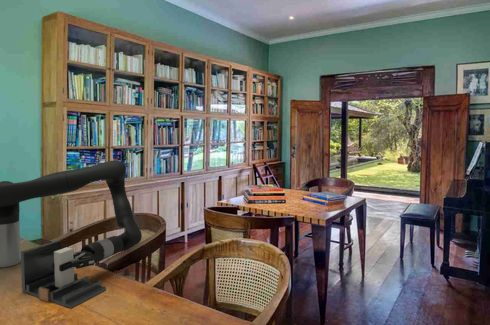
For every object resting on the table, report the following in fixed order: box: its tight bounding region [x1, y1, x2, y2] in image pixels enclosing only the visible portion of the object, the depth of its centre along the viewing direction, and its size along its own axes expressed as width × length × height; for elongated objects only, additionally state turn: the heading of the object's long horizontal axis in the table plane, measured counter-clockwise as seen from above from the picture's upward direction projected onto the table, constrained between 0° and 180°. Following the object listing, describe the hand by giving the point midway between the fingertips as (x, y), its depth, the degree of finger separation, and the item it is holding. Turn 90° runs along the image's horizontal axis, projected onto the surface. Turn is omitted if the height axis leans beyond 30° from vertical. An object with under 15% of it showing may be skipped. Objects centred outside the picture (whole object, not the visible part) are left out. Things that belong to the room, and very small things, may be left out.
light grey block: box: [54, 246, 75, 288], centre depth 119 cm, size 3×5×12 cm, turn 155°
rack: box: [20, 239, 107, 309], centre depth 119 cm, size 23×15×14 cm, turn 65°
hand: (56, 267), depth 116 cm, fingers closed on light grey block, 3 cm apart
